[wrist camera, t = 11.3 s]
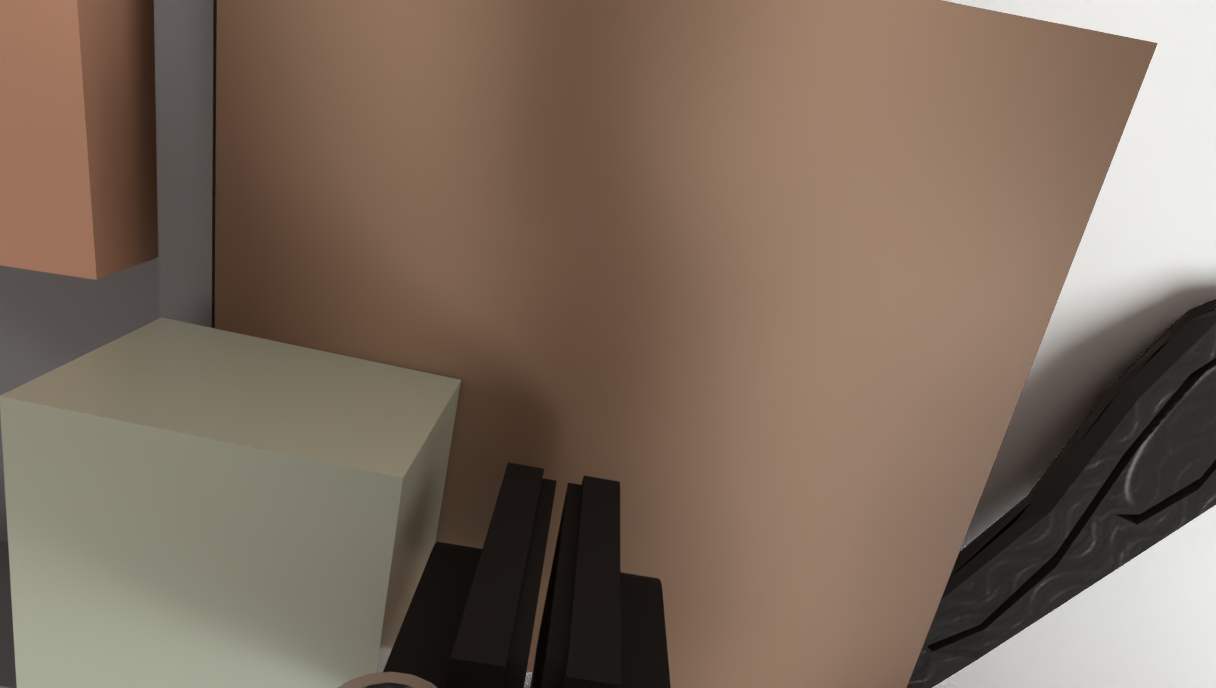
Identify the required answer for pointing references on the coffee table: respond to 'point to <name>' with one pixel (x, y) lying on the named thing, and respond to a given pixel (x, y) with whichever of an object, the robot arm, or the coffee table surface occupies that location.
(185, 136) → the box
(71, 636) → the pale green cube
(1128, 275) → the coffee table surface
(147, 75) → the peach cube block
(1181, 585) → the coffee table surface
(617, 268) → the brown square platform
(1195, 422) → the hairbrush
